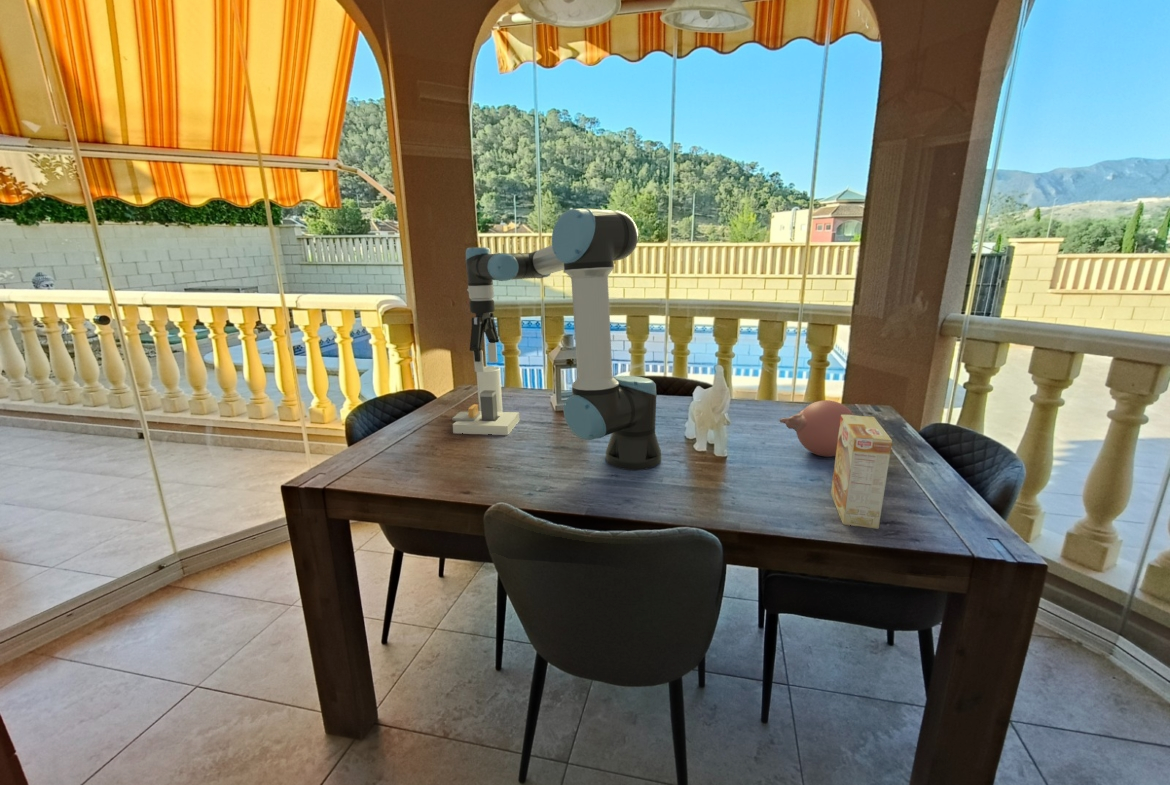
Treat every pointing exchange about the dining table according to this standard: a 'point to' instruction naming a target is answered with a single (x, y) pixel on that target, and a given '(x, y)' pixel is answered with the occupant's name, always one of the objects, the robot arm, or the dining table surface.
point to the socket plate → (488, 424)
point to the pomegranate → (818, 426)
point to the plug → (488, 405)
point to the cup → (490, 384)
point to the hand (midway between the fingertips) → (486, 366)
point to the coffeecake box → (860, 470)
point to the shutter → (468, 414)
